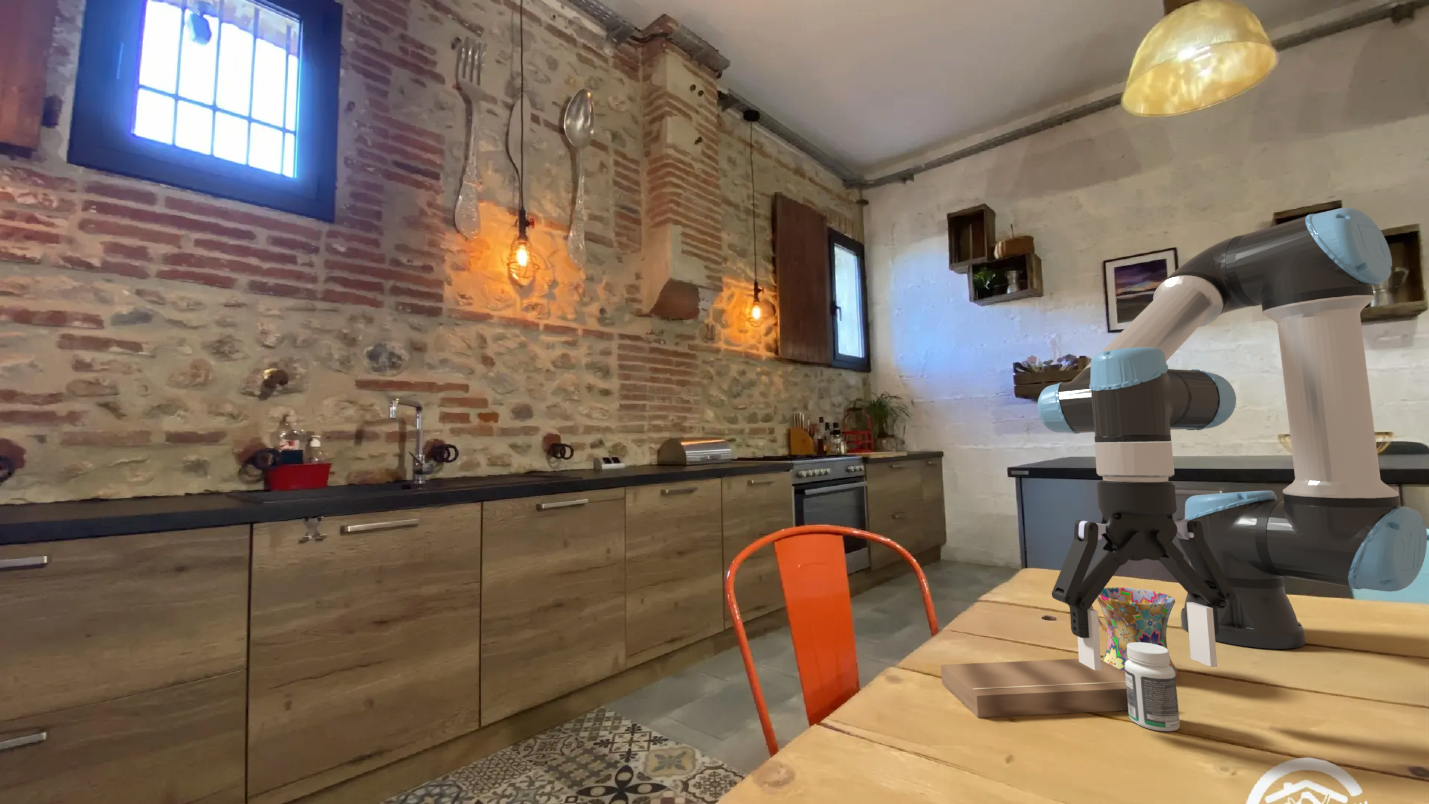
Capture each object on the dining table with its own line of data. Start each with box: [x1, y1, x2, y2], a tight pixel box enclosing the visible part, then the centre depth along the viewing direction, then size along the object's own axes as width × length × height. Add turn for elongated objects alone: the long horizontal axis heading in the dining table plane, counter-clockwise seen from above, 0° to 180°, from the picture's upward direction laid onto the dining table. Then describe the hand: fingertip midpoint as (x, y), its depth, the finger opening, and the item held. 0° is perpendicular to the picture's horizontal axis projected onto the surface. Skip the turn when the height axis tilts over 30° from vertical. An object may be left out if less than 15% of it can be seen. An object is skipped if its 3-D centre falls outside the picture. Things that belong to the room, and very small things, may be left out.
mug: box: [1090, 586, 1178, 676], centre depth 84 cm, size 12×9×11 cm
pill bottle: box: [1125, 642, 1181, 732], centre depth 68 cm, size 5×5×8 cm
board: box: [940, 658, 1128, 718], centre depth 76 cm, size 22×10×3 cm, turn 93°
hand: (1147, 664), depth 68 cm, fingers open, 13 cm apart
